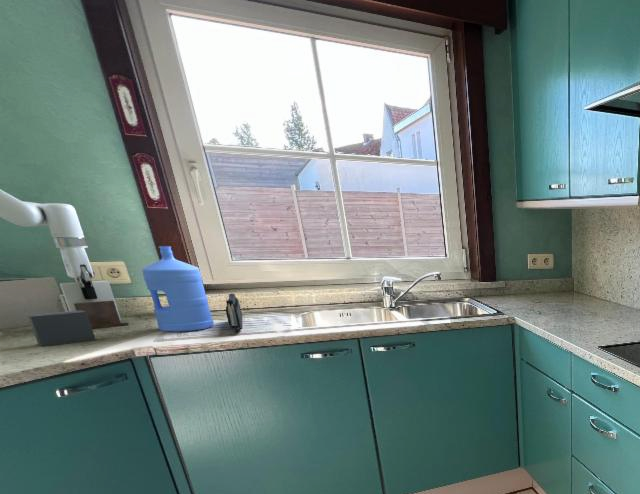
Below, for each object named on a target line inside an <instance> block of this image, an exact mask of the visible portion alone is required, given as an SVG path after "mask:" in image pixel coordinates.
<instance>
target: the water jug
mask: <svg viewBox="0 0 640 494" xmlns="http://www.w3.org/2000/svg"><path fill="white" fill-rule="evenodd" d="M158 248H159V250H160V251H159V252H160V255H161V259H159V260H158V261H155V262H153V263H151V264H149V265H147V266H144V267H143V268H142V269H141V272H142V277H143V280H144V282H145V285H146V288H147V290H149V293H150V296H151V300H152V303H153V306H154V309H153V311H154V315H155V318H156V321H157V327H158V329H159V330H161V331H163V332H168V331H174V332H173V333H178V332H179V333H181V332H182V333H183V332H193V331H195V332H196V331H201V330H206V329H210V328H212V327H213V326H214V325H215V324H214V319H213V317H212V313H211V309H210V305H209V299H208V297H207V294H206V290H205V286H204V283H203V276H202V273H201V272H200V269H199V267H198V266H195V265H193V264H189V263H187V262H184V261H181V260H178V259H176V258H175V257H174V253H173V251H172V246H169V245H161V246H158ZM158 292H163V293H164V294H165V298H166V300H167V304H168V305H167V306H163V305H161V301H160V297H159V294H158Z"/></svg>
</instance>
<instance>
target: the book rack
mask: <svg viewBox="0 0 640 494" xmlns="http://www.w3.org/2000/svg"><path fill="white" fill-rule="evenodd" d="M58 296H59V299H60V302H61V305H62V307H63V310H64V312H67V311H69V308H68V305H67V303H66V300H65V297H64V294H58ZM74 306H75V309H76V311H79V310H82V311H85V312H86V313H87V316H88V319H89V321H90V324H91V327H92V330H96V329H106V328H115V327H124V325H125V326H129V322H128V321H126V320H122V319H121V321H120V319H119V316H118V313H117V310H116V307H115V304H114V301H99V302H86V303H74Z"/></svg>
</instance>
